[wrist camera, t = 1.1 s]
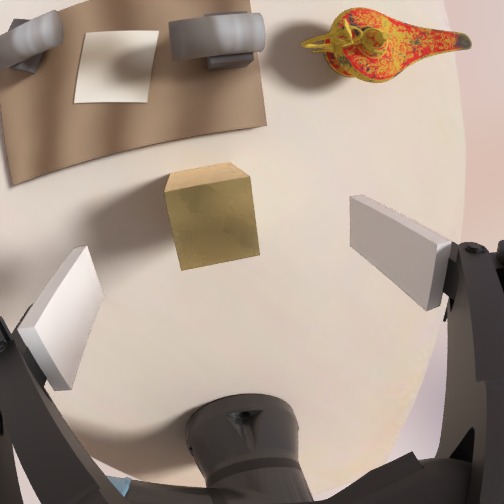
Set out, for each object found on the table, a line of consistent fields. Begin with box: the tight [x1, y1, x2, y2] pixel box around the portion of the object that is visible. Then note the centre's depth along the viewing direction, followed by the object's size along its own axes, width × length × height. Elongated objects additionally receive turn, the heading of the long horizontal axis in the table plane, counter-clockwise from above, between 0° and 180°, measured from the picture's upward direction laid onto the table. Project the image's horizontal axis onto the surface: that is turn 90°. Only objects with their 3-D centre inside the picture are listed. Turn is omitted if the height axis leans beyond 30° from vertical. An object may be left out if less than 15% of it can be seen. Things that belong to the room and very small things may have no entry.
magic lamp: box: [301, 7, 472, 83], centre depth 18 cm, size 7×18×11 cm, turn 106°
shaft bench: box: [0, 0, 267, 185], centre depth 17 cm, size 22×14×6 cm, turn 97°
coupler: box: [164, 162, 260, 271], centre depth 22 cm, size 5×5×8 cm
